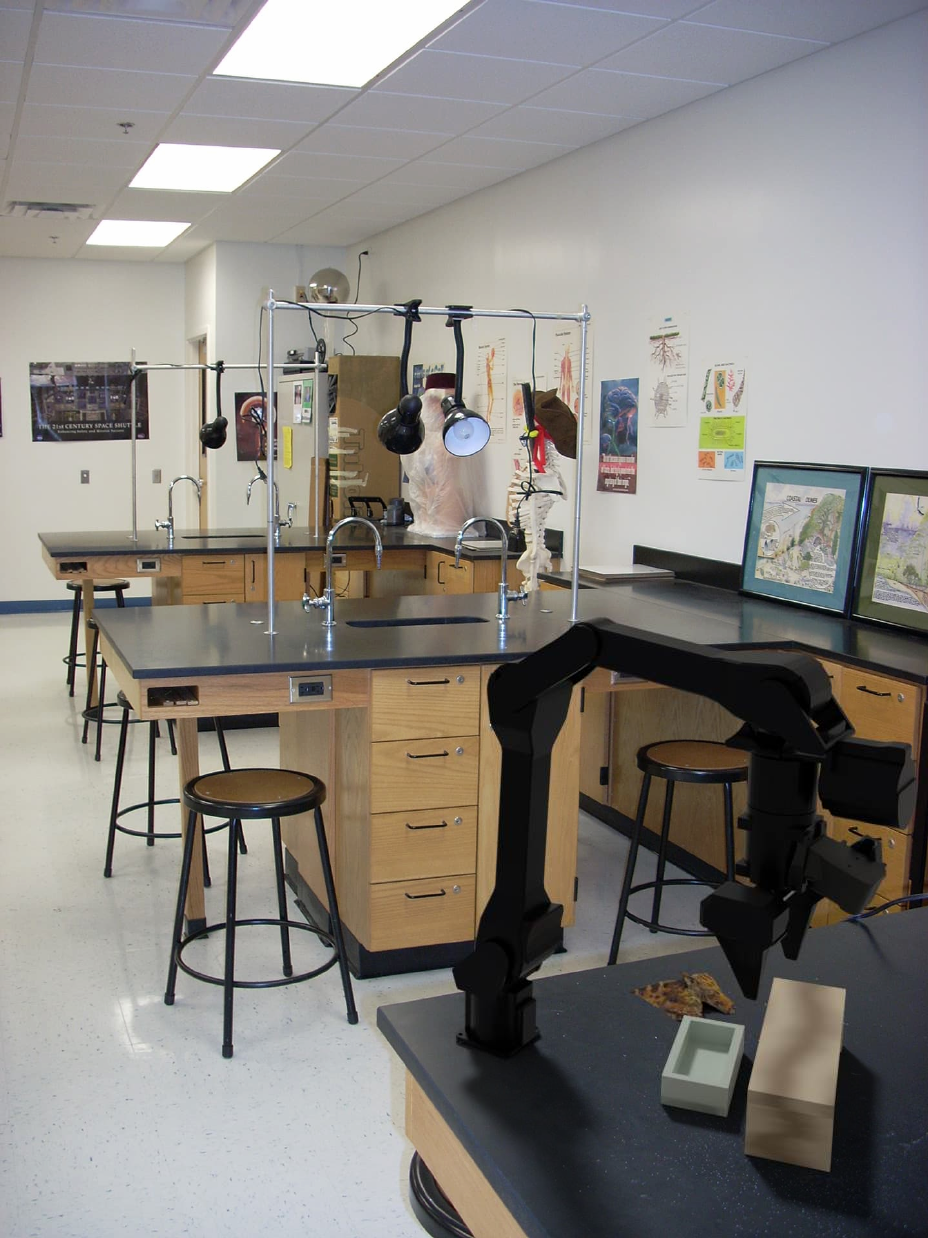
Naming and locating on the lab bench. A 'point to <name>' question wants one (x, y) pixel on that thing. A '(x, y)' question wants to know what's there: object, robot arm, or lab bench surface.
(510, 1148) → the lab bench surface
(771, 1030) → the tan rectangular block
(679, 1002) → the butterfly model
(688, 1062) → the tray
